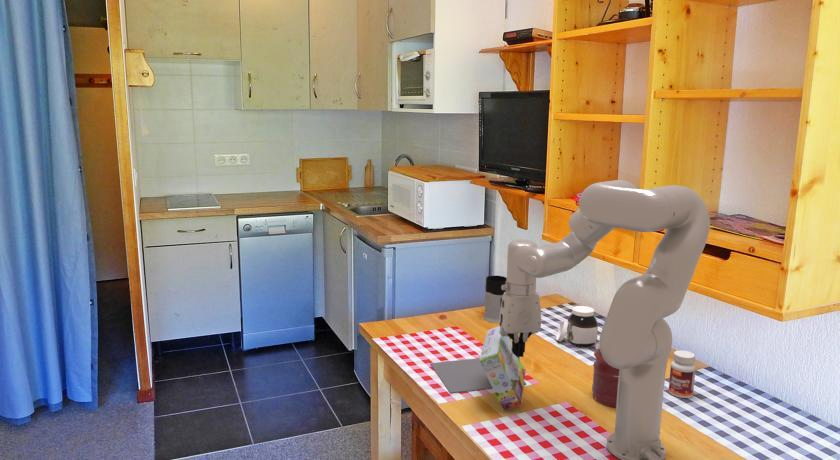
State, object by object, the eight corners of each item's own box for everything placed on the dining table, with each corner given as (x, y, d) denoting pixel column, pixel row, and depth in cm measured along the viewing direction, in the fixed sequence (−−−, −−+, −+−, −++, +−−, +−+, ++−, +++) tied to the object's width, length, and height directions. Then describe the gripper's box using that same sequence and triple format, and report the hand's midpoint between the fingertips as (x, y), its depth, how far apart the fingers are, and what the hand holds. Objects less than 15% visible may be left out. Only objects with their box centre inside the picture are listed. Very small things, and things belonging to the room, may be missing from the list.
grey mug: (493, 312, 235) (494, 273, 232) (525, 322, 225) (526, 281, 222) (478, 318, 228) (479, 278, 225) (510, 328, 219) (512, 286, 216)
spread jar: (600, 348, 202) (602, 313, 199) (568, 351, 199) (570, 316, 196) (580, 334, 213) (582, 301, 211) (550, 338, 210) (551, 304, 207)
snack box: (523, 405, 158) (497, 352, 156) (503, 412, 159) (476, 360, 158) (527, 369, 178) (503, 322, 177) (509, 376, 180) (485, 329, 178)
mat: (526, 384, 175) (526, 383, 175) (450, 393, 170) (450, 392, 170) (499, 357, 194) (499, 356, 194) (430, 364, 189) (430, 363, 189)
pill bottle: (667, 396, 169) (671, 356, 166) (669, 386, 174) (672, 348, 172) (692, 400, 166) (696, 360, 164) (693, 391, 172) (697, 351, 170)
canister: (586, 386, 174) (589, 325, 171) (633, 387, 174) (638, 325, 171) (598, 409, 161) (603, 343, 158) (650, 409, 161) (655, 344, 158)
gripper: (499, 294, 158) (496, 363, 161) (554, 290, 161) (550, 358, 165) (488, 285, 165) (486, 352, 168) (541, 282, 168) (538, 347, 172)
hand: (518, 355), depth 167 cm, fingers closed
